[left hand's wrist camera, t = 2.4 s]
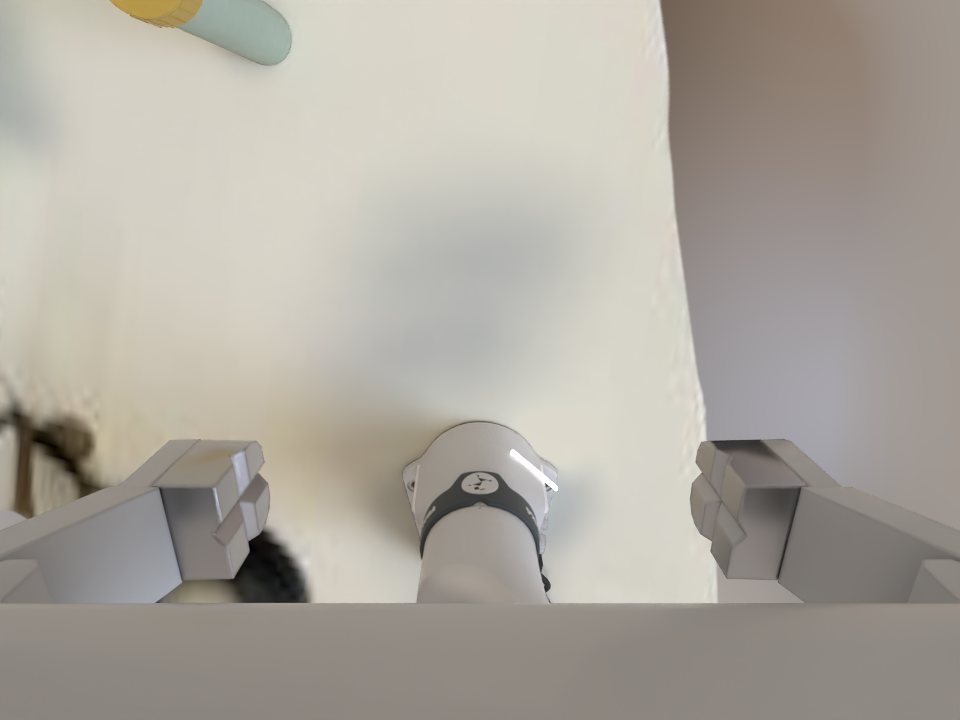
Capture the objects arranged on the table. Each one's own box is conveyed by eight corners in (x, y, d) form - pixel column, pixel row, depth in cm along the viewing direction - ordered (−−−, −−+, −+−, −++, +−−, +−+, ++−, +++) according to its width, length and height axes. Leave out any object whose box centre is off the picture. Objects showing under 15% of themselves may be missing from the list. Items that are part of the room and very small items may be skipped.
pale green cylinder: (243, -3, 48) (102, -99, 30) (296, 16, 49) (188, -68, 31) (235, 55, 50) (96, -4, 32) (286, 72, 50) (178, 24, 32)
